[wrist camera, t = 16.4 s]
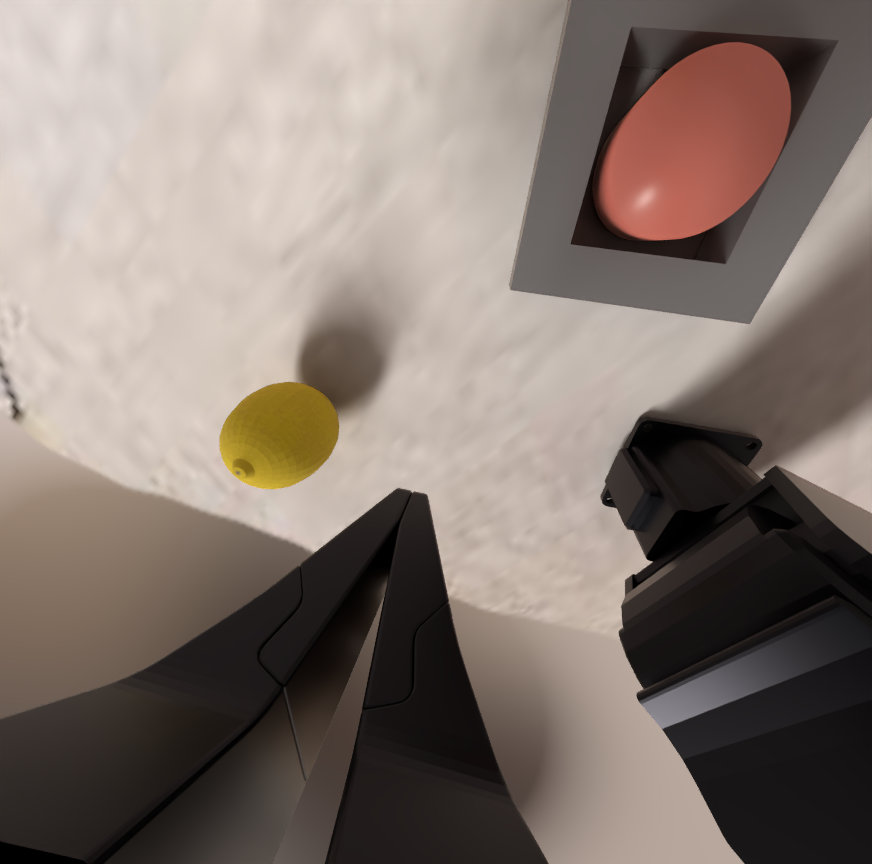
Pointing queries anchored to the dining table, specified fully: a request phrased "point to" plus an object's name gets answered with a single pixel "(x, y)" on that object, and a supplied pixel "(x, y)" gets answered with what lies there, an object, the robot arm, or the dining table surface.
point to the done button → (694, 144)
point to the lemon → (279, 435)
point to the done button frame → (768, 207)
